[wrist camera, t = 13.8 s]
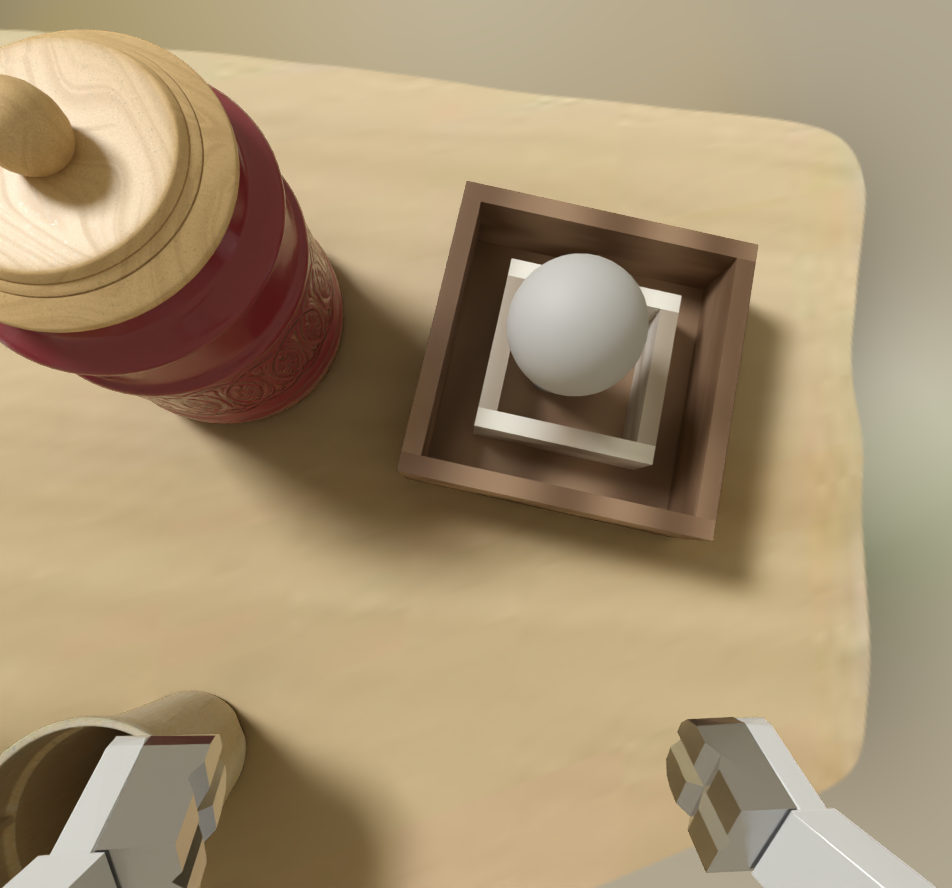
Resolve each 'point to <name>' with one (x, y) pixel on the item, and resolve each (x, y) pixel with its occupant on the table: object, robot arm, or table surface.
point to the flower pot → (92, 766)
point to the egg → (577, 325)
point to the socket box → (592, 416)
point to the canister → (154, 234)
